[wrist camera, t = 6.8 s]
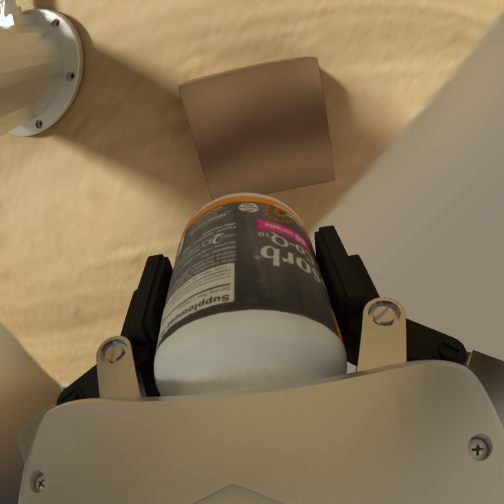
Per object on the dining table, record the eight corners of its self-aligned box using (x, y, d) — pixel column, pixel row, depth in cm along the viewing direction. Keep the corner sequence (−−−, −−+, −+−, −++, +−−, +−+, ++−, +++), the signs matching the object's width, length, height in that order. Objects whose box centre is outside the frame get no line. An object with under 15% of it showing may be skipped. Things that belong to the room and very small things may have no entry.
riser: (185, 81, 24) (178, 86, 20) (305, 56, 23) (316, 57, 19) (215, 185, 29) (213, 205, 26) (322, 163, 28) (334, 180, 25)
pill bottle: (331, 245, 15) (407, 453, 7) (242, 310, 17) (252, 502, 9) (245, 159, 12) (270, 406, 4) (154, 246, 14) (99, 465, 6)
